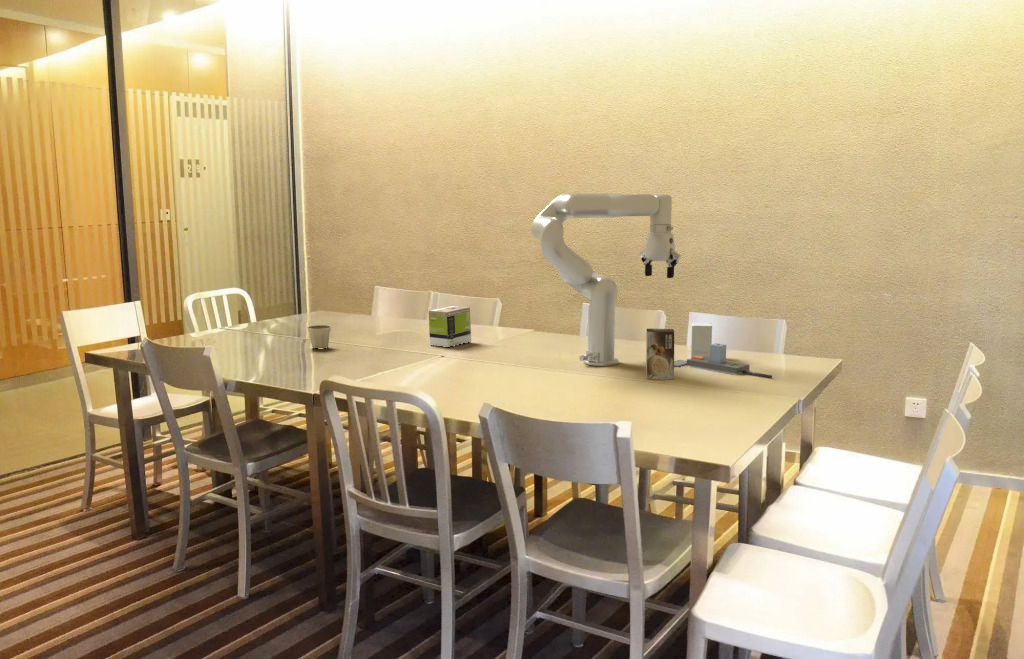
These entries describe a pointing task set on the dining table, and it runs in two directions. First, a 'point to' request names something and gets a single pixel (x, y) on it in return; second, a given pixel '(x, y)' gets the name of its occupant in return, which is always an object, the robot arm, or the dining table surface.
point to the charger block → (717, 353)
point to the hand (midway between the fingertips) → (659, 276)
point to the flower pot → (319, 335)
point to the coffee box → (660, 354)
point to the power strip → (722, 366)
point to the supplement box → (701, 339)
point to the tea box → (449, 326)
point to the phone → (680, 363)
